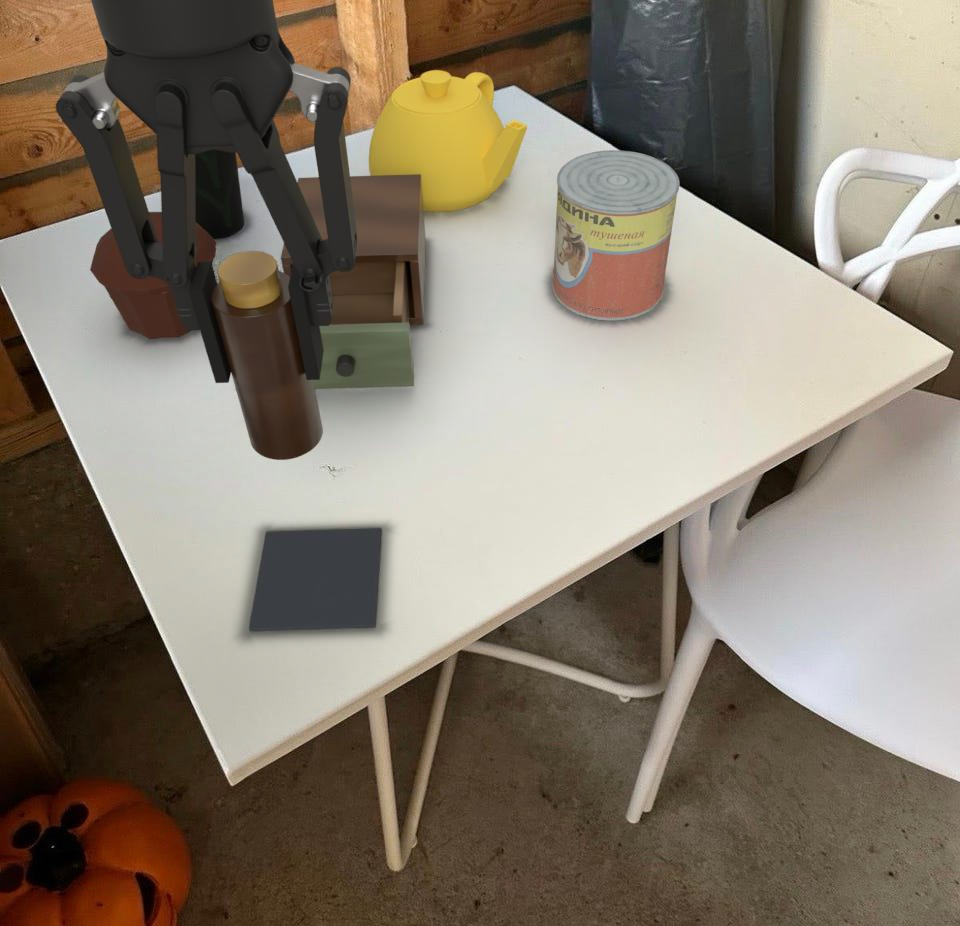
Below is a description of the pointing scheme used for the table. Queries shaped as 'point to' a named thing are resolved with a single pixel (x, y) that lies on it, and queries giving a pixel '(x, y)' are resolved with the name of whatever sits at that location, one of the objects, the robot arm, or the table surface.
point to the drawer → (368, 329)
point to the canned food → (613, 233)
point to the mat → (317, 580)
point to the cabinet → (381, 226)
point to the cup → (218, 193)
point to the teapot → (446, 139)
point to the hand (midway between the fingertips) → (270, 365)
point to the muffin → (145, 285)
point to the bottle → (266, 356)
